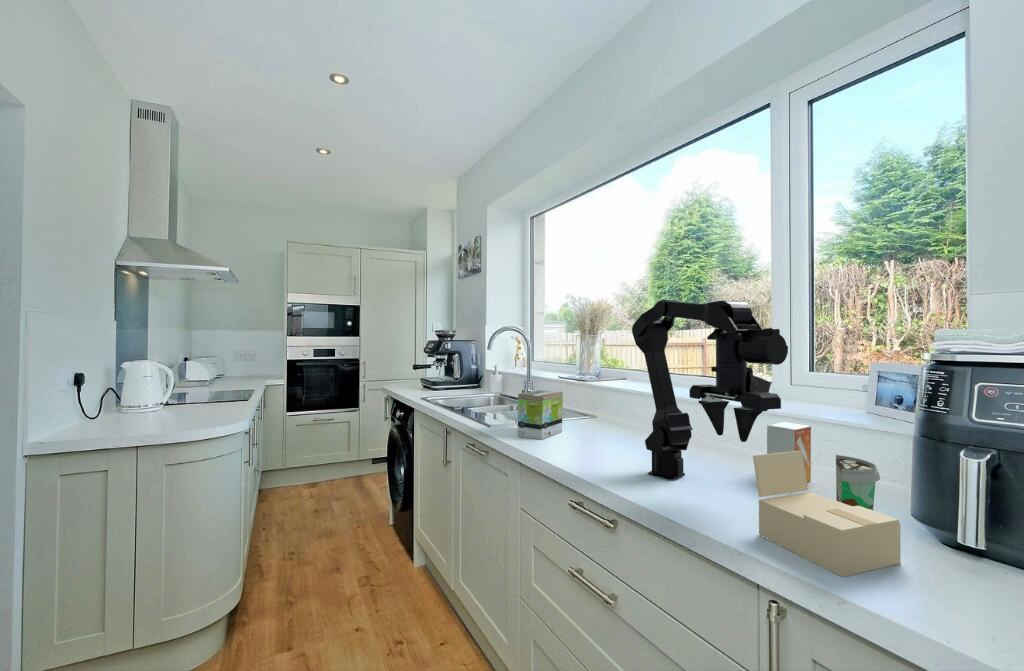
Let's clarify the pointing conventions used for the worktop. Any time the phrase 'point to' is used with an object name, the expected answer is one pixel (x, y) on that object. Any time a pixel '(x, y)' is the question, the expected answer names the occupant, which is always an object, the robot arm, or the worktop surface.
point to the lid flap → (780, 473)
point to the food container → (855, 481)
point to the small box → (791, 441)
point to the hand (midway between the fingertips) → (731, 438)
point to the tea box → (540, 414)
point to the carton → (831, 532)
